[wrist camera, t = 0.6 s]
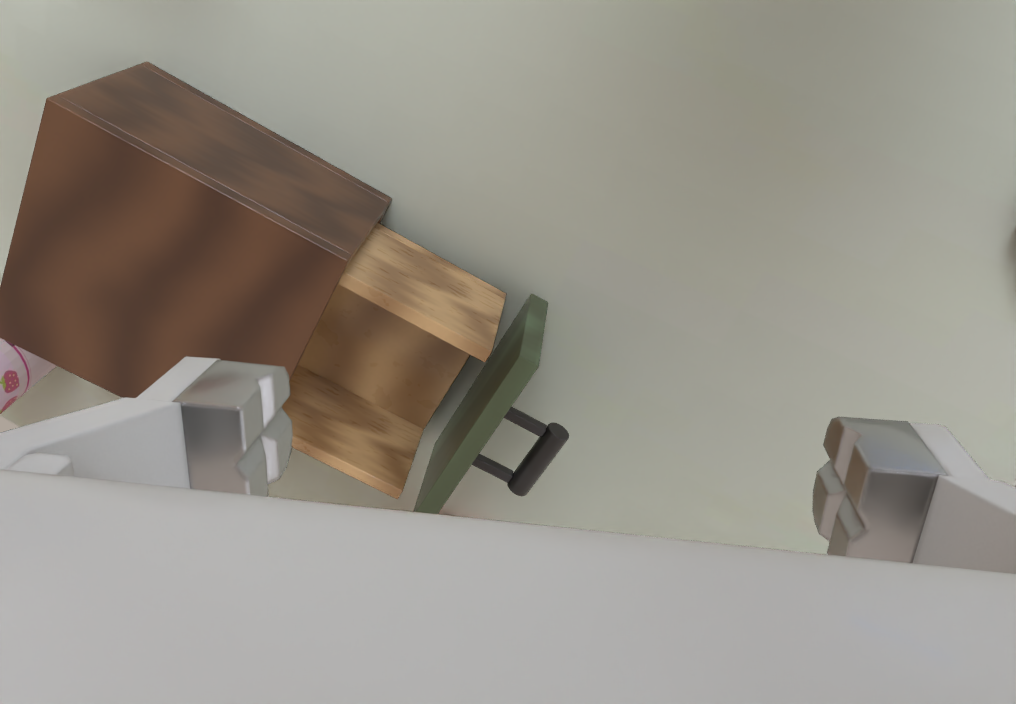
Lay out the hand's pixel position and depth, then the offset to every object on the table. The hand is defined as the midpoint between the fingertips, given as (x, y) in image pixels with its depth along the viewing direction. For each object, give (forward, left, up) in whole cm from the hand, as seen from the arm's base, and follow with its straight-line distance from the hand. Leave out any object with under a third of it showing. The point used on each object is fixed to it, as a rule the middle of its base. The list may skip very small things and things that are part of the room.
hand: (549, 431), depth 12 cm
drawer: (+20, -3, -35) cm, 41 cm away
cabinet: (+18, -17, -36) cm, 43 cm away
